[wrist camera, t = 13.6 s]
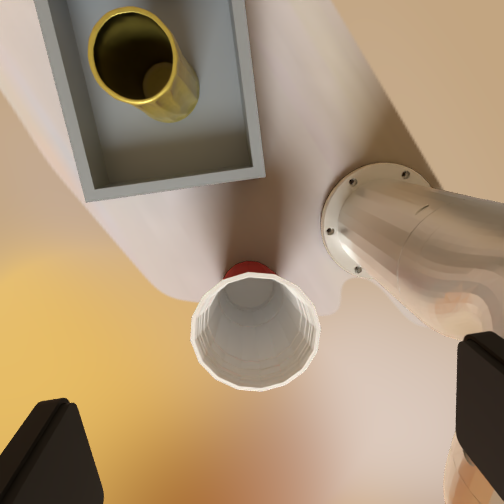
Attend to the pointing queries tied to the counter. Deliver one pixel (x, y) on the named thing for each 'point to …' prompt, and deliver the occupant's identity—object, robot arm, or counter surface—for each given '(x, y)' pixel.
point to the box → (140, 124)
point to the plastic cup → (255, 329)
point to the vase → (142, 64)
